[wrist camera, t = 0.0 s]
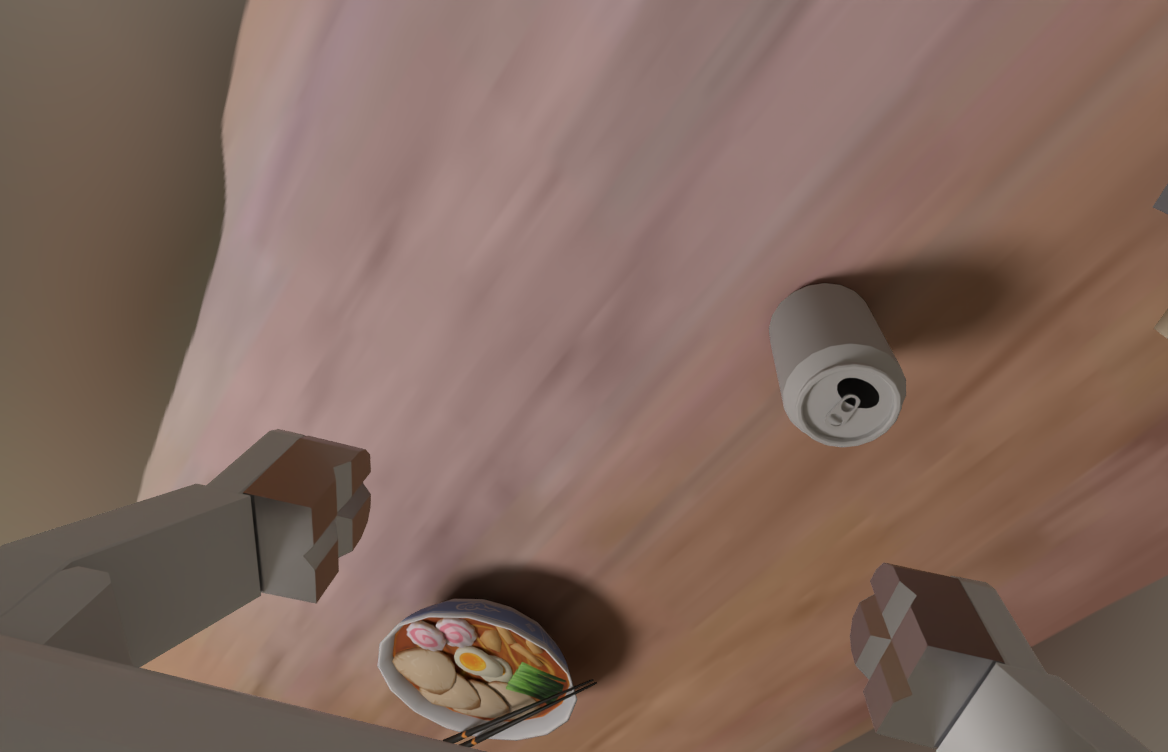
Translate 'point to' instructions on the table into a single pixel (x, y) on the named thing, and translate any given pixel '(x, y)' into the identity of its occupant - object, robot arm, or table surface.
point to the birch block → (1163, 325)
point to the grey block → (1162, 201)
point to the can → (835, 366)
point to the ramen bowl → (479, 671)
